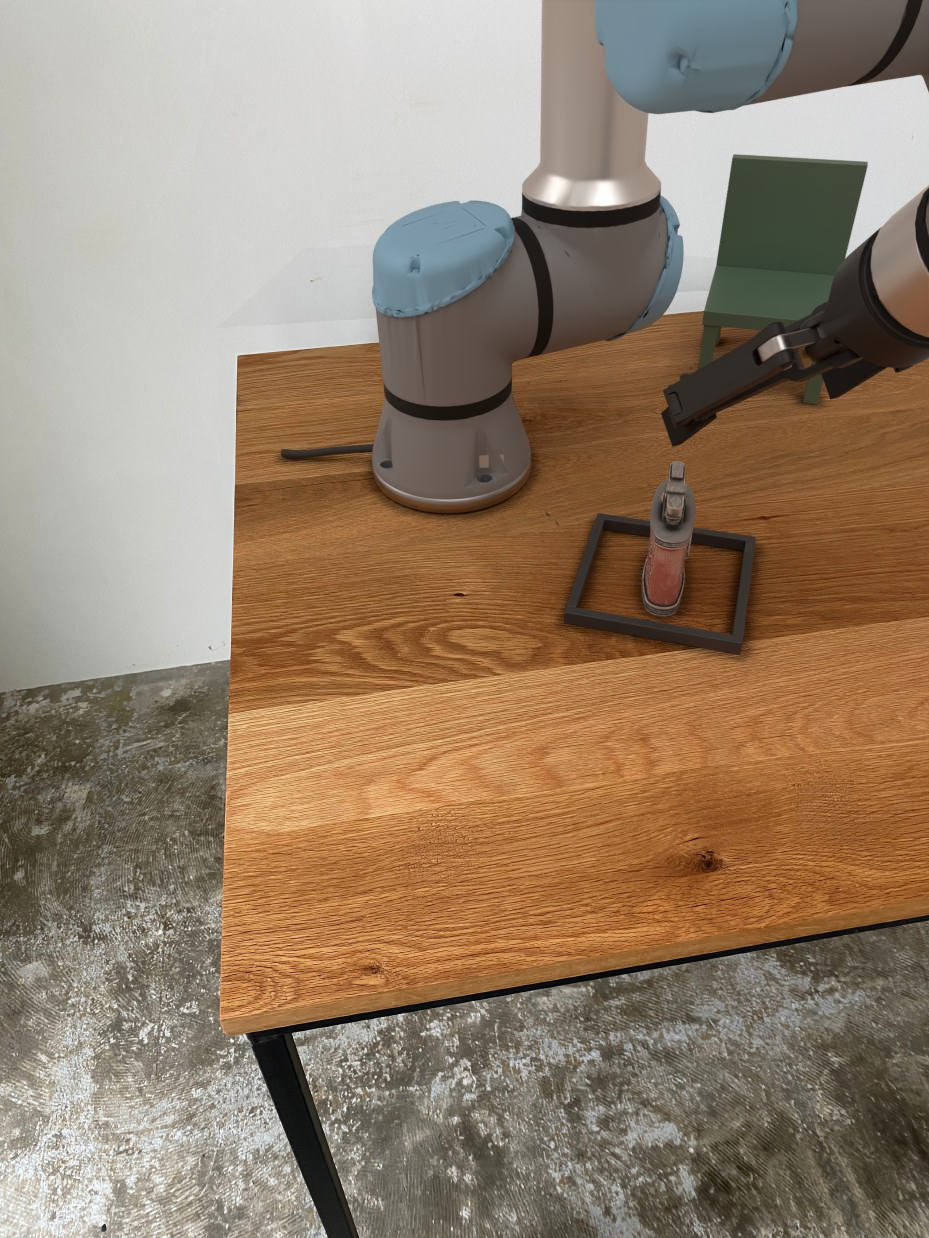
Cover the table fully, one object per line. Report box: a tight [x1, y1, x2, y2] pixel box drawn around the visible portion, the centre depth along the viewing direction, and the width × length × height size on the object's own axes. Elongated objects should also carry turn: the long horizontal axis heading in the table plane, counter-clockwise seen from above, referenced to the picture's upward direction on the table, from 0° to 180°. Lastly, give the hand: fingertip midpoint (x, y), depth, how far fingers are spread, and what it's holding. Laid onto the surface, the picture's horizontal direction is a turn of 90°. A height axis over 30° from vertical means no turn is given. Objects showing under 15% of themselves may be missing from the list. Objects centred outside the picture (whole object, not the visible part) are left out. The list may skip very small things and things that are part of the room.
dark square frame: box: [563, 512, 757, 655], centre depth 77 cm, size 14×14×1 cm
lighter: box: [641, 460, 697, 617], centre depth 74 cm, size 8×3×10 cm, turn 168°
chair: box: [696, 153, 869, 406], centre depth 96 cm, size 13×13×20 cm
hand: (750, 405), depth 71 cm, fingers open, 13 cm apart
